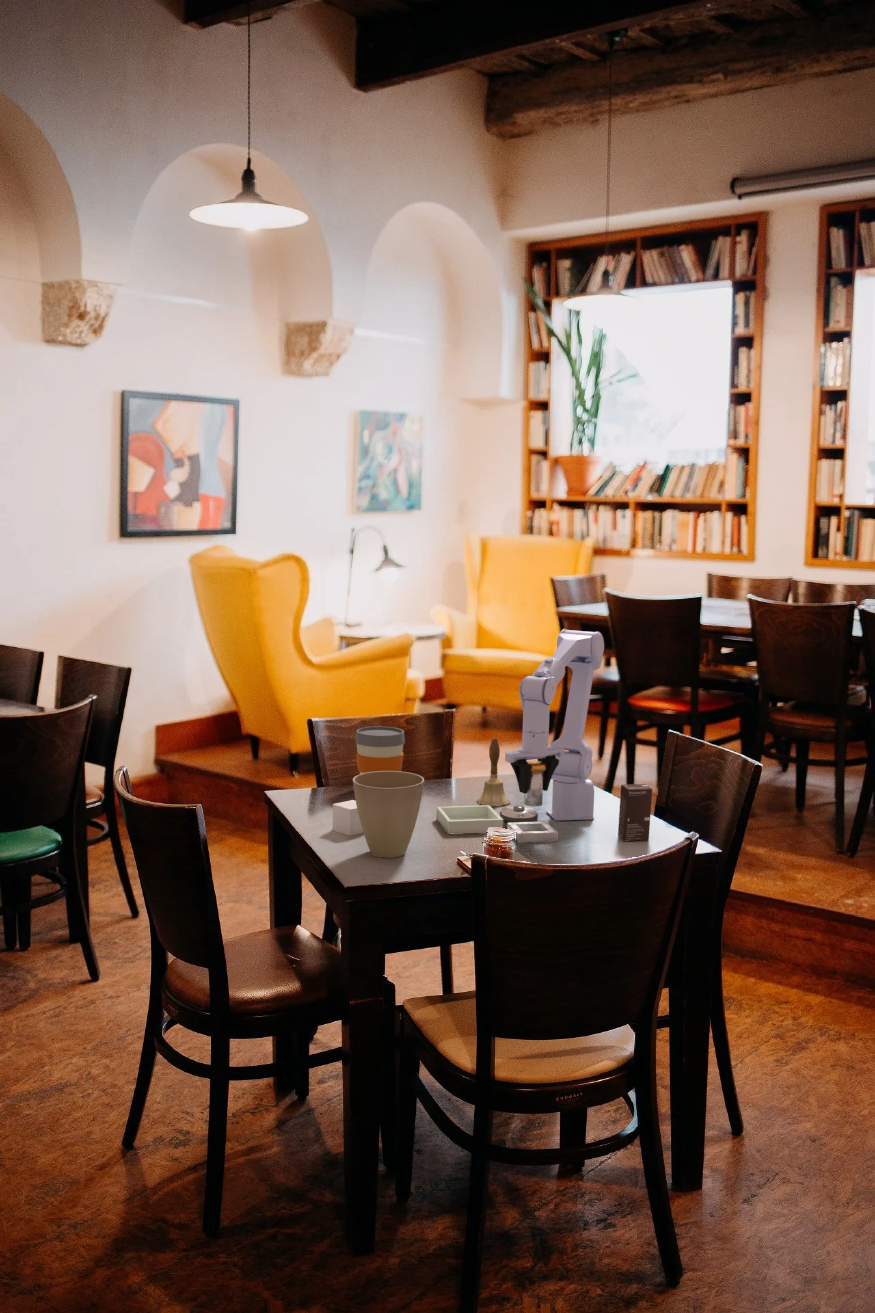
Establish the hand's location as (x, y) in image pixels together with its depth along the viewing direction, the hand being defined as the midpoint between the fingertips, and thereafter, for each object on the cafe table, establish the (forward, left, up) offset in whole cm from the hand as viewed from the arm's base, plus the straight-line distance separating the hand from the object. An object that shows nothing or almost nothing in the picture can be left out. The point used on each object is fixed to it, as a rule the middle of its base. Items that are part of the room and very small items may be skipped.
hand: (533, 791), depth 271 cm
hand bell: (+1, -30, -10) cm, 32 cm away
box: (-22, +5, -10) cm, 25 cm away
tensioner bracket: (0, -5, -10) cm, 12 cm away
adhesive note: (+39, -10, -11) cm, 42 cm away
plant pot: (+34, +8, -10) cm, 37 cm away
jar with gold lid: (0, 0, -3) cm, 3 cm away
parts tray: (+12, -10, -10) cm, 19 cm away
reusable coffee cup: (+27, -46, -10) cm, 55 cm away
